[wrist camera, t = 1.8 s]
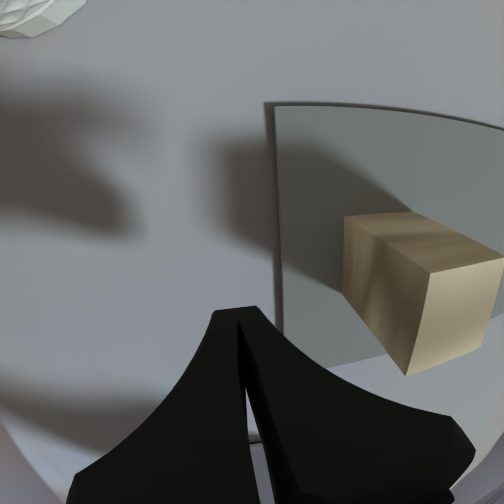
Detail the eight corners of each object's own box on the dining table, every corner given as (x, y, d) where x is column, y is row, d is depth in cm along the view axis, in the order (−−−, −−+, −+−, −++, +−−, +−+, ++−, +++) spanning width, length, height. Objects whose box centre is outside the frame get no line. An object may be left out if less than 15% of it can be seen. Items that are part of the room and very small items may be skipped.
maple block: (404, 282, 16) (479, 347, 10) (340, 293, 15) (405, 376, 9) (412, 211, 14) (506, 256, 8) (344, 216, 14) (430, 273, 8)
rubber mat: (500, 310, 19) (503, 312, 19) (283, 371, 17) (284, 376, 17) (526, 137, 14) (530, 138, 14) (272, 107, 12) (274, 106, 12)
